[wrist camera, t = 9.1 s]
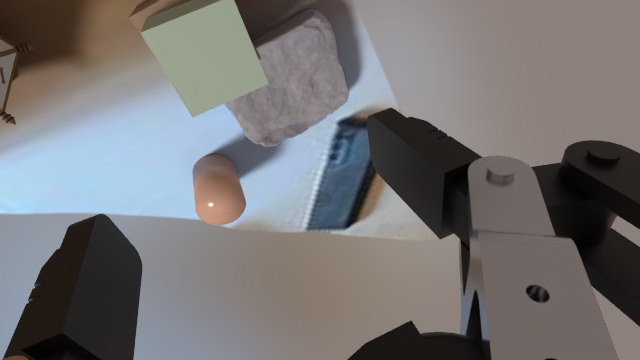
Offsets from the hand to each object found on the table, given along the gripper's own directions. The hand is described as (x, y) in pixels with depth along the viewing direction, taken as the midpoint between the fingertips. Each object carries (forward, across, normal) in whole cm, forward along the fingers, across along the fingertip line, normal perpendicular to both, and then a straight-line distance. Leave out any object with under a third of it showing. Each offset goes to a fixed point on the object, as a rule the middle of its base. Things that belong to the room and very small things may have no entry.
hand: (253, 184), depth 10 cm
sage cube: (+16, 0, -1) cm, 16 cm away
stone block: (+23, -6, +6) cm, 24 cm away
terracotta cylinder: (+22, +4, +12) cm, 26 cm away
